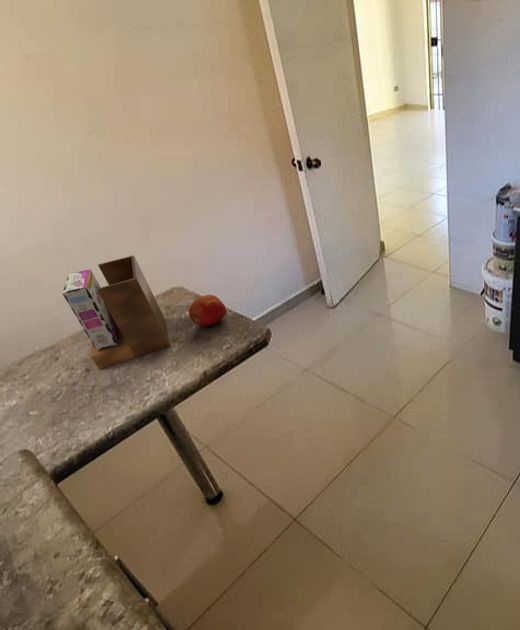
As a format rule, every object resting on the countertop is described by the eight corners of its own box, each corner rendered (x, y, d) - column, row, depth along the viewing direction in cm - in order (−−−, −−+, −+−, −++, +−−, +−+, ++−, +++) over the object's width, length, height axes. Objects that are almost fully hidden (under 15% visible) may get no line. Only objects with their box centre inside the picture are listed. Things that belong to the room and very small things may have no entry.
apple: (233, 320, 119) (224, 296, 114) (204, 335, 114) (193, 310, 110) (219, 311, 124) (209, 287, 119) (190, 325, 119) (179, 300, 114)
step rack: (99, 370, 105) (54, 301, 94) (100, 339, 116) (59, 274, 104) (170, 346, 111) (136, 278, 100) (164, 318, 122) (133, 255, 111)
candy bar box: (119, 344, 106) (86, 287, 97) (96, 351, 104) (60, 294, 95) (121, 322, 115) (90, 267, 105) (99, 328, 113) (66, 273, 103)
